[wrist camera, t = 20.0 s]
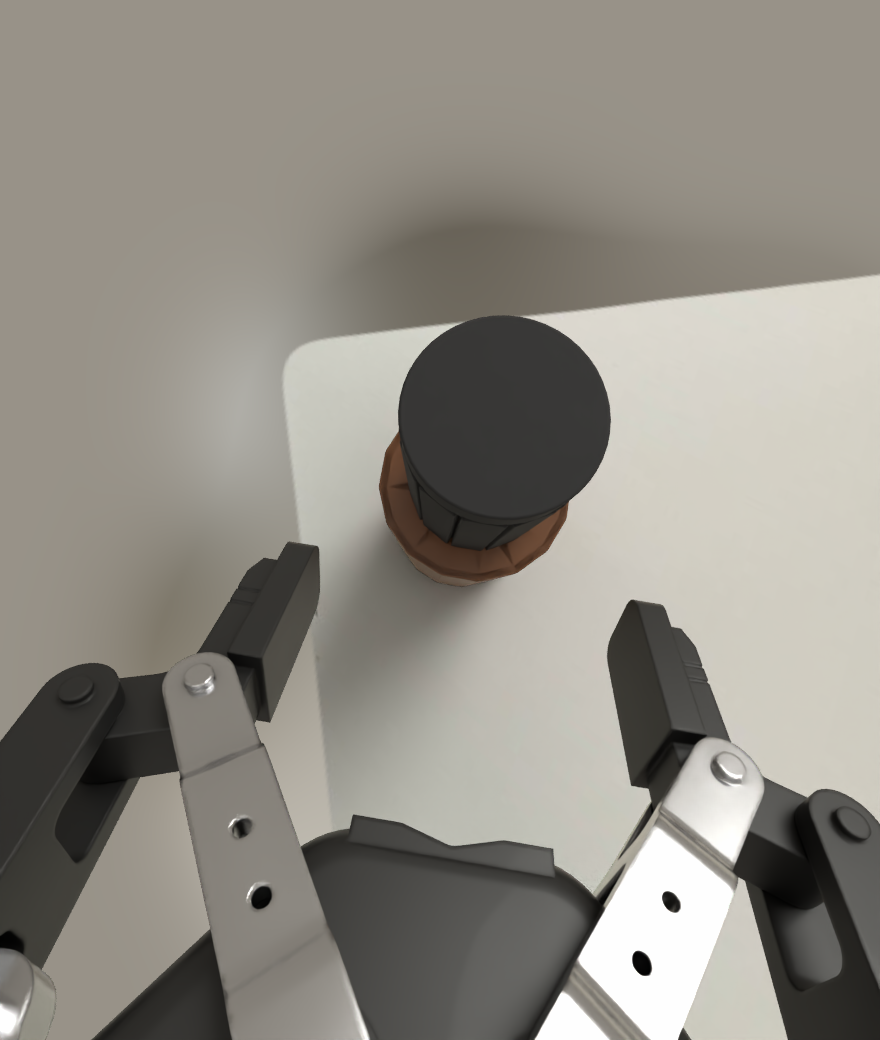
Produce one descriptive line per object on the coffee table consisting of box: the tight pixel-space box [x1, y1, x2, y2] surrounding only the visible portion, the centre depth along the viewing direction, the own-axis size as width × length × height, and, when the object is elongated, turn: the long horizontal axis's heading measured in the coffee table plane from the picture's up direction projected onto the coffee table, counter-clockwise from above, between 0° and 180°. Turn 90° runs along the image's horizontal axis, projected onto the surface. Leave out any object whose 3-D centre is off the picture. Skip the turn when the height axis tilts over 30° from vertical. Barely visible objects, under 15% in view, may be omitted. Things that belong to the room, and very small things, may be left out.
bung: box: [398, 316, 611, 551], centre depth 17 cm, size 5×5×8 cm
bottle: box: [379, 432, 569, 587], centre depth 23 cm, size 8×8×18 cm
